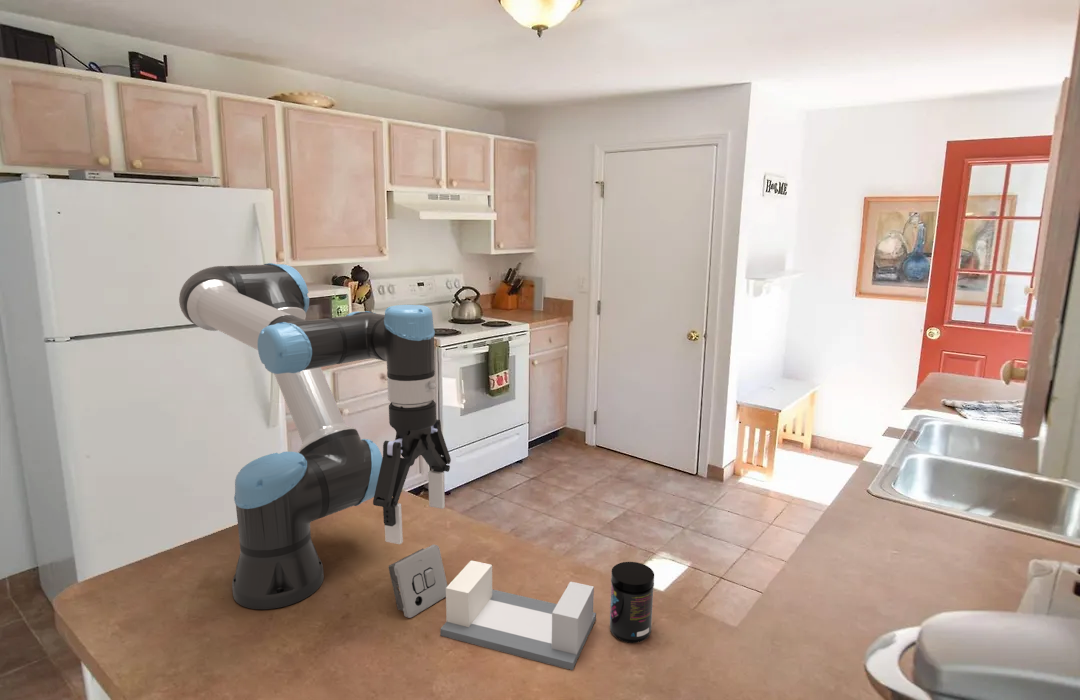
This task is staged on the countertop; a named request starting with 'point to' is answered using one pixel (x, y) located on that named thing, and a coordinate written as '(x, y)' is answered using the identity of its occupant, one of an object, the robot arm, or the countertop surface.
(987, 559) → the countertop surface
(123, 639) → the countertop surface
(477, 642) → the rail plate
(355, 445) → the robot arm
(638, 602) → the supplement container
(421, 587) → the electrical switch
